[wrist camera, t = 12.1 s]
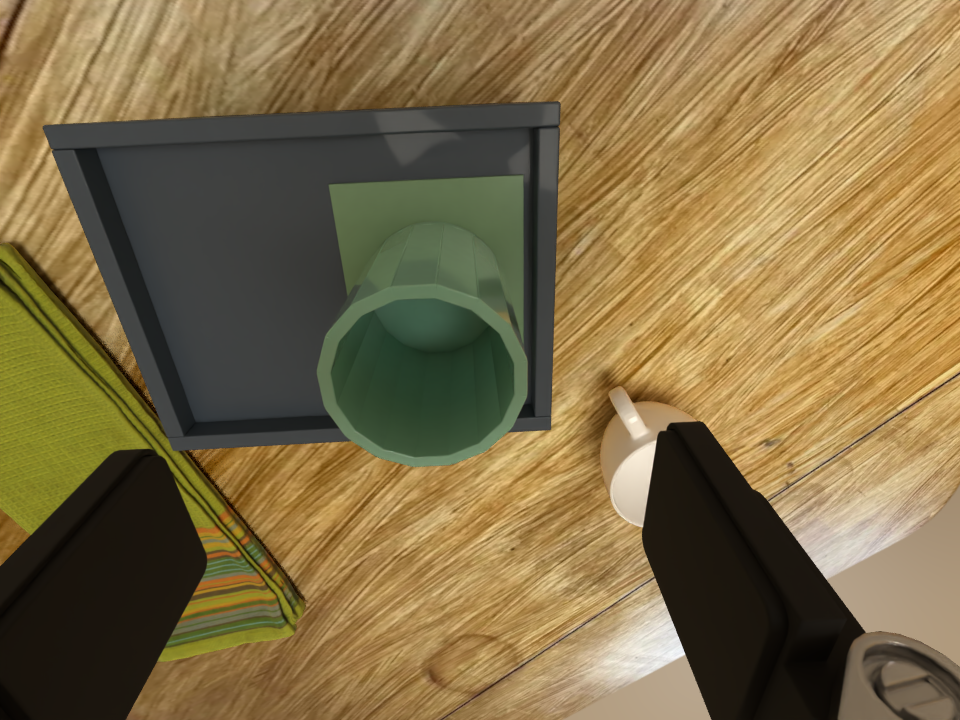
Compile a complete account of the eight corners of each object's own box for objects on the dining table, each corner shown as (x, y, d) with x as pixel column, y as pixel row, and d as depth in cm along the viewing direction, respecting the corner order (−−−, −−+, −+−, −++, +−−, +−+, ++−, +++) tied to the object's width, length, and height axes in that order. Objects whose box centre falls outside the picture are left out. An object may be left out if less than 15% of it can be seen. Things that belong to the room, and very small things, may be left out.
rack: (194, 117, 27) (40, 125, 17) (523, 102, 27) (560, 101, 17) (257, 348, 33) (172, 451, 24) (524, 334, 34) (551, 430, 24)
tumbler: (354, 224, 20) (297, 291, 13) (503, 217, 20) (528, 279, 13) (375, 357, 23) (337, 471, 16) (506, 349, 23) (527, 461, 16)
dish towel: (166, 644, 47) (147, 679, 44) (-183, 316, 31) (-248, 338, 28) (312, 603, 45) (302, 636, 42) (19, 232, 29) (-28, 246, 27)
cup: (613, 479, 40) (640, 546, 34) (553, 391, 36) (572, 449, 30) (703, 435, 38) (749, 497, 32) (651, 337, 34) (692, 386, 28)
